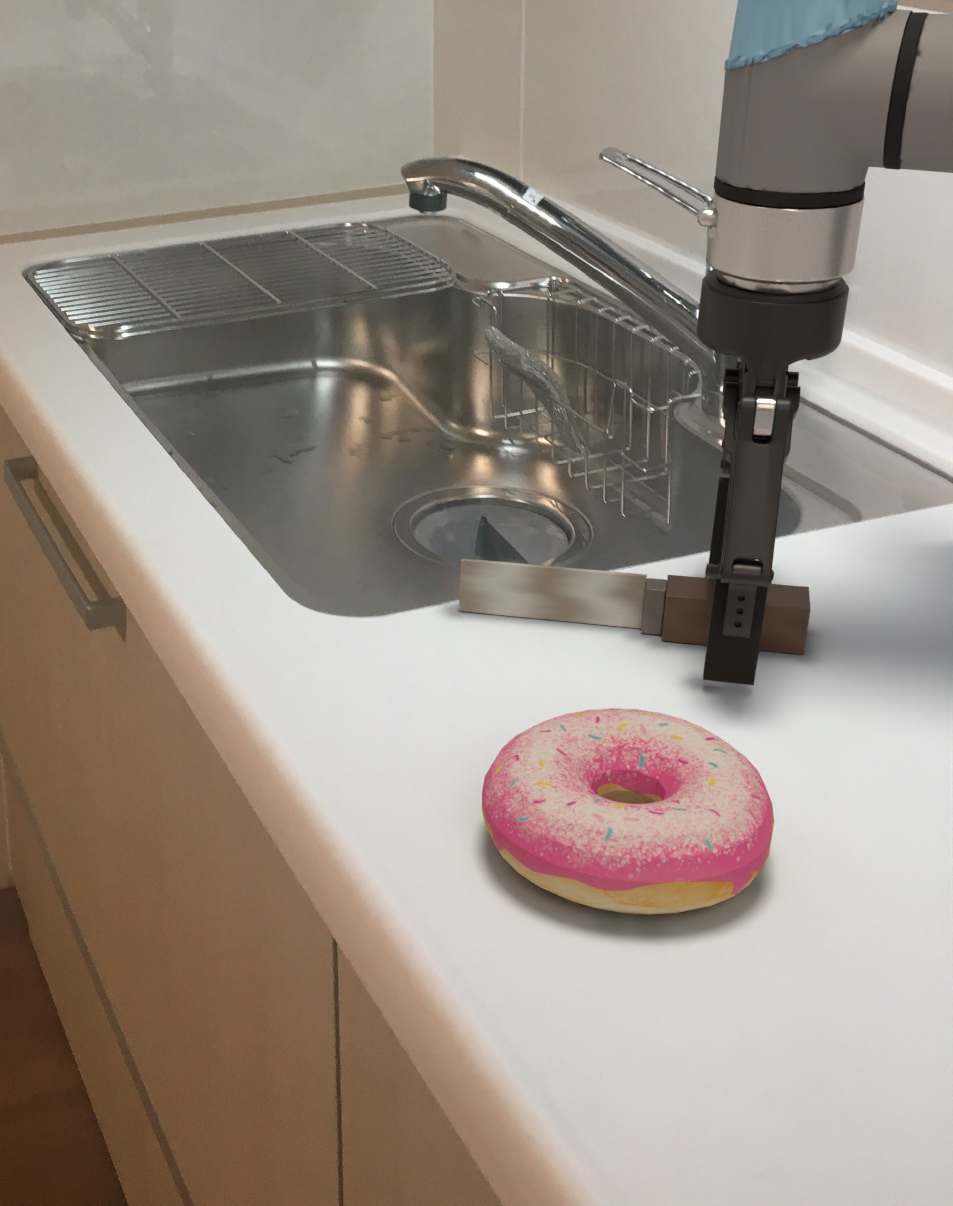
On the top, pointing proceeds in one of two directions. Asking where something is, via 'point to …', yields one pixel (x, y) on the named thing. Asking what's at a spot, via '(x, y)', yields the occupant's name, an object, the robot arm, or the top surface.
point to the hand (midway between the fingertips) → (728, 625)
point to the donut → (628, 811)
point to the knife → (624, 601)
